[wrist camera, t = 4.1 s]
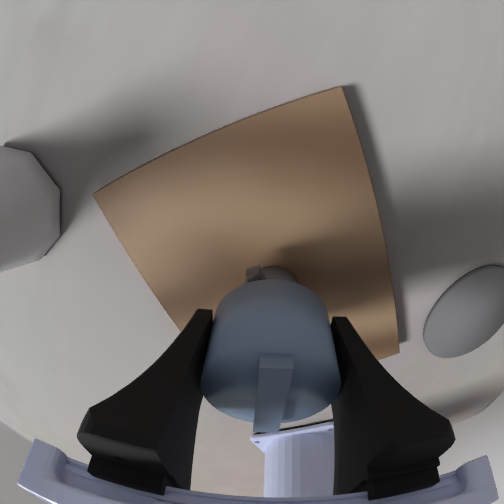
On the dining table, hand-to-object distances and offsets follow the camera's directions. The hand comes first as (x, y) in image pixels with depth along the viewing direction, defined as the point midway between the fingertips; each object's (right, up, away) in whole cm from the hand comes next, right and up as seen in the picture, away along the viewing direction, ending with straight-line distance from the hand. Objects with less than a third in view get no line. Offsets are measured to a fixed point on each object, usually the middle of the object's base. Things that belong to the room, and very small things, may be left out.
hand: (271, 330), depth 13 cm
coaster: (+14, -1, +4) cm, 15 cm away
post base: (0, +2, +3) cm, 4 cm away
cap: (0, 0, 0) cm, 0 cm away
